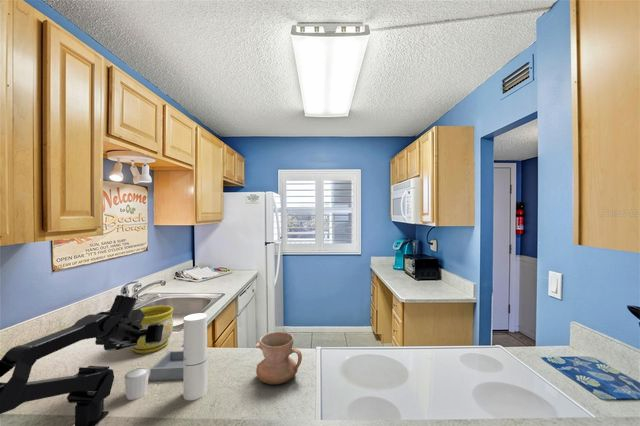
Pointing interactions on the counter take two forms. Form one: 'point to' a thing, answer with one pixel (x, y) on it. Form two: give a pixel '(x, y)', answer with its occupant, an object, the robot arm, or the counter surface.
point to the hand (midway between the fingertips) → (148, 341)
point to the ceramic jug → (277, 358)
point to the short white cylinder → (136, 383)
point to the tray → (168, 367)
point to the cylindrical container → (195, 356)
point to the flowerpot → (151, 317)
